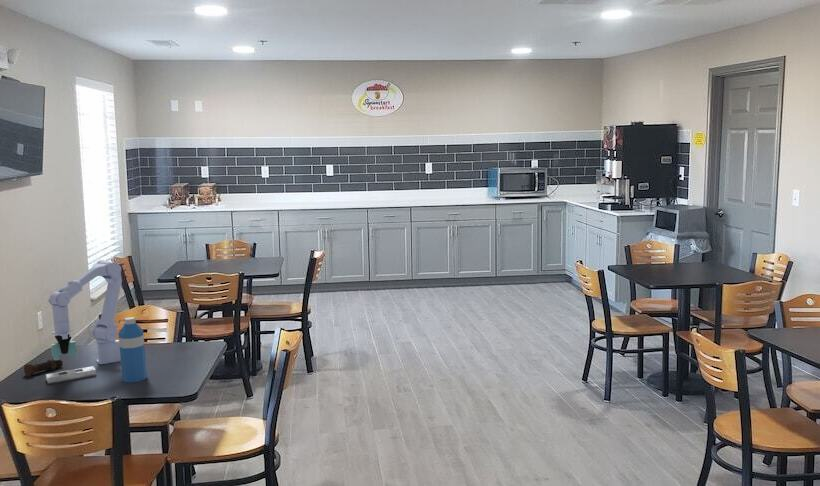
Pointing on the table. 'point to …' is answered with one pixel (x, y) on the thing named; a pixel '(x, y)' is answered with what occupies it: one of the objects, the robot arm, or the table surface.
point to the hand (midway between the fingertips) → (64, 352)
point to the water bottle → (132, 351)
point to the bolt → (42, 366)
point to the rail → (70, 375)
